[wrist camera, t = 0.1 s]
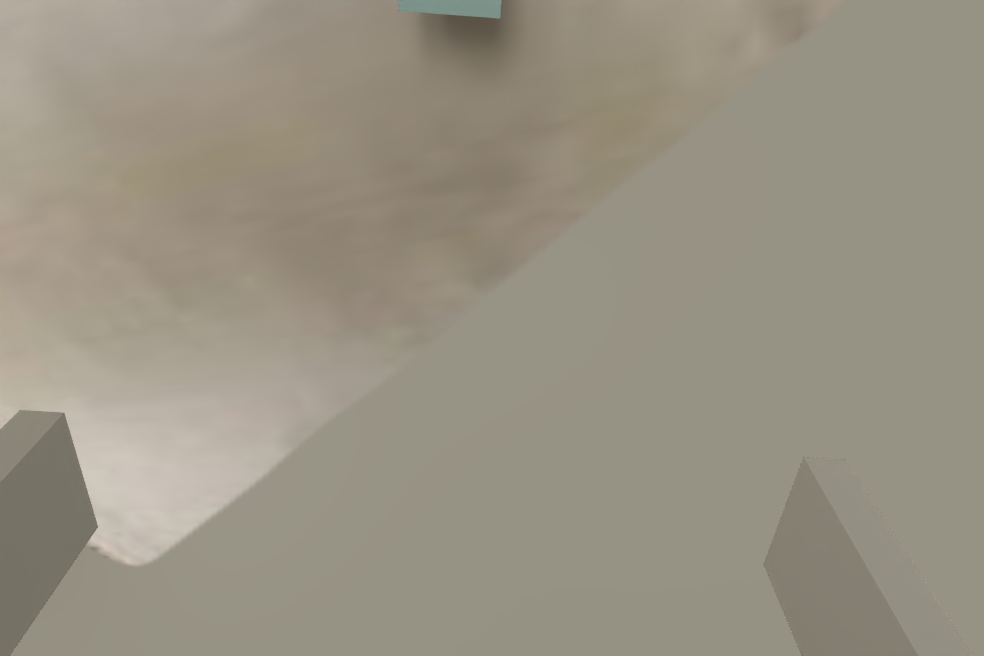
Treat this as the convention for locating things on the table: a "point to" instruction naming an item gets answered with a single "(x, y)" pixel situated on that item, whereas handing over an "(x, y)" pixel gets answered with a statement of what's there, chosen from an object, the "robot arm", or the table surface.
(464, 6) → the lid
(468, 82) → the table surface
